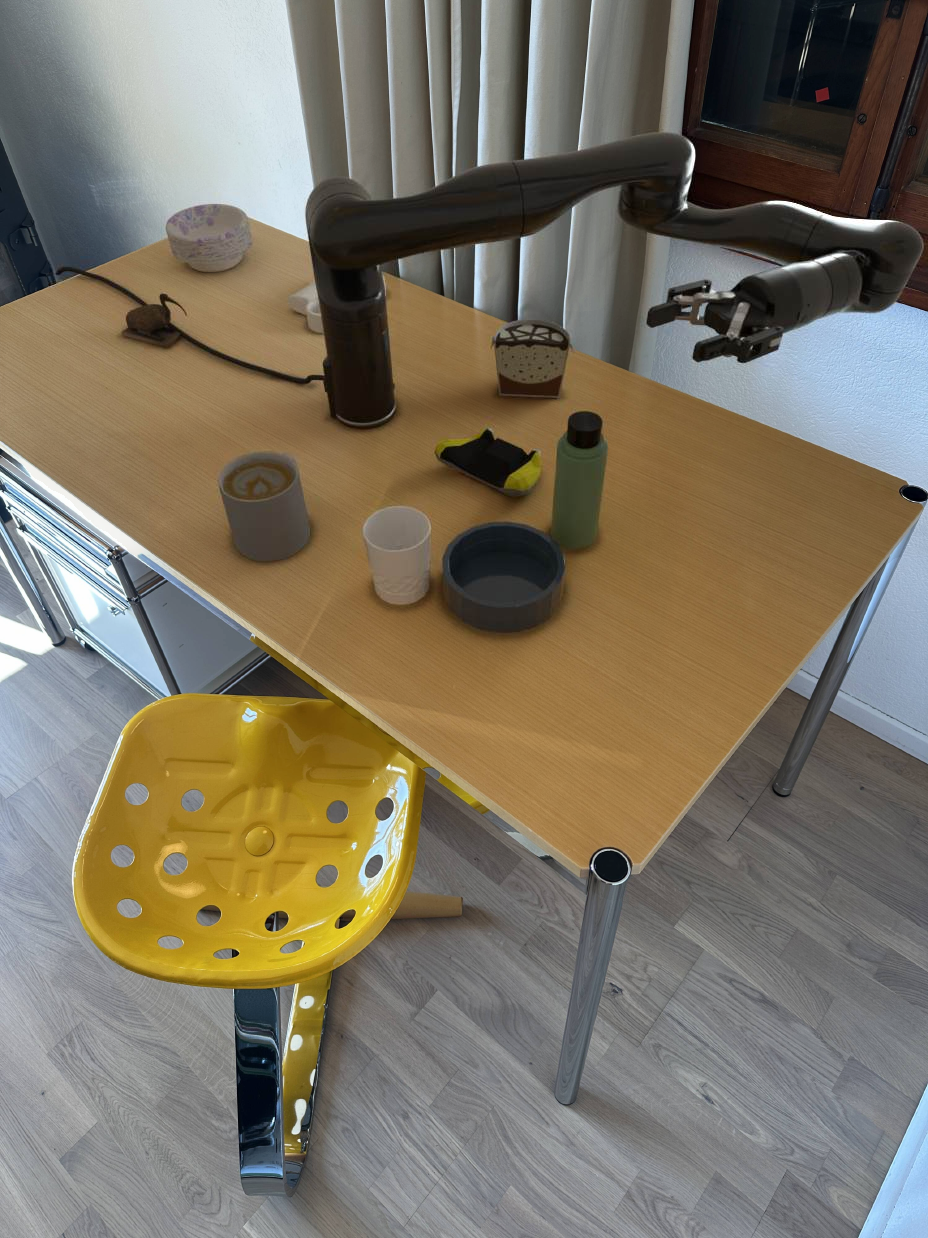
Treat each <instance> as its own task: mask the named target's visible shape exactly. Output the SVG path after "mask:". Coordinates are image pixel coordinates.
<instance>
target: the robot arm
mask: <svg viewBox="0 0 928 1238" xmlns="http://www.w3.org/2000/svg"><path fill="white" fill-rule="evenodd" d="M695 161H696V149H695V146H694V144H693V142H692V141H691V140H690V139H689V138H687V137H686V136H684V135H682V134H680V133H679V134H678V133H675V132H668V131H656V132H655V131H654V132H646V133H642V134H636V135H632V136H627V137H624V138H621V139H618V140H614V141H610V142H606V143H603V144H598V145H595V146H590V147H588V148H587V147H586V148H583V149H579V150H574V151H568V152H564V153H558V154H552V155H547V156H539V157H534V158H525V159H516V160H515V159H514V160H509V161H502V162H495V163H488V164H483V165H479V166H474V167H471V168H469V169H466V170H463V171H462V172H460V173H457V174H455V175H454V176H452V177H450V178H449V179H447V180H445V181H443V182H441V183H440V184H437V185H435V186H434V187H431V188H430V189H428V190H425V191H423V192H420V193H416V194H413V195H408V196H402V197H401V196H400V197H394V198H385V199H373V198H372V196H371V194H370V193H369V192H368V190H367V189H366V188H365V187H364V186H363V185H362V184H361V183H359V182H358V181H357V180H354V179H353V178H351V177H346V176H331V177H328V178H325V179H323V180H321V181H320V182H319V183H318V184H317V185H315V187H314V188H313V189H312V191H311V192H310V194H309V195H308V198H307V201H306V204H305V214H304V218H305V226H306V232H307V238H308V246H309V252H310V257H311V265H312V271H313V277H314V282H315V284H316V289H317V295H318V300H319V306H320V312H321V319H322V325H323V332H324V333H323V339H324V344H325V351H326V356H325V357H324V359H323V361H322V370H323V374H310V375H307V377H305V378H304V377H297V376H292V375H288V374H286V373H283V372H279V371H275V370H273V369H270V368H266V367H263V366H260V365H256V364H253V363H249V362H246V361H243V360H240V359H238V358H235V357H233V356H230V355H227V354H225V353H223V352H220V351H218V350H216V349H214V348H212V347H210V346H208V345H206V344H204V343H202V342H200V341H199V340H196V339H195V338H194V337H192V336H191V335H189V334H187V333H186V332H185V331H183V330H182V329H180V328H178V326H176V325H174V324H173V323H172V322H171V321H170V322H169V323H168V325H166V327H169V328H175V329H177V330H176V331H177V332H179V333H180V335H181V336H182V338H183V339H185V340H186V341H188V342H189V343H190V344H192V345H194V346H196V347H197V348H199V349H201V350H203V351H204V352H207V353H209V354H210V355H213V356H214V357H217V358H218V359H222V360H224V361H226V362H229V363H232V364H234V365H237V366H240V367H242V368H246V369H249V370H252V371H254V372H255V371H256V372H258V373H262V374H265V375H268V376H271V377H274V378H278V379H282V380H285V381H288V382H292V383H295V384H302V385H308V384H310V383H311V381H322V383H323V388H324V392H325V393H326V396H327V402H328V408H329V414H330V418H331V419H336V420H337V421H338V422H339V423H341V424H342V425H344V426H345V427H349V428H354V429H371V428H376V427H379V426H382V425H384V424H386V423H387V422H389V421H390V420H392V419H393V417H394V416H395V414H396V411H397V403H396V397H395V389H396V385H395V383H394V376H393V375H394V374H393V365H392V355H391V344H390V343H391V342H390V341H391V340H390V332H389V329H390V328H389V320H388V309H387V294H386V295H385V286H386V285H385V286H384V281H383V276H384V275H383V270H382V265H384V264H387V263H390V262H394V261H399V260H402V259H405V258H410V257H413V256H417V255H422V254H425V253H430V252H437V251H444V250H452V249H457V248H463V247H469V246H473V245H481V244H489V243H498V242H503V241H510V240H515V239H521V238H526V237H530V236H532V235H535V234H537V233H539V232H541V231H543V230H544V229H545V228H547V227H548V226H550V225H551V224H553V223H554V222H556V221H557V220H558V219H560V218H561V217H562V216H564V215H565V214H566V213H567V212H568V211H570V210H572V208H574V207H575V206H576V205H578V204H579V203H581V202H582V201H583V200H585V199H587V198H588V197H590V196H592V195H594V194H597V193H598V192H601V191H604V190H607V189H611V188H615V187H618V193H617V201H616V209H617V210H616V211H617V213H618V216H619V218H620V219H621V220H622V221H623V222H624V223H625V224H626V225H628V226H629V227H631V228H633V229H636V230H638V231H641V232H644V233H648V234H651V235H656V236H659V237H660V236H661V237H666V238H670V239H676V240H679V241H681V240H682V241H686V242H690V243H696V244H701V245H707V246H714V247H717V248H724V249H730V250H735V251H739V252H743V253H747V254H751V255H754V256H757V257H759V258H763V259H766V260H769V261H772V262H774V263H777V264H779V266H777V267H774V268H771V269H767V270H764V271H761V272H758V273H754V274H751V275H748V276H745V277H743V278H742V279H741V280H739V281H738V283H736V284H735V286H734V287H733V288H731V289H730V290H723V291H715V290H714V289H713V288H712V284H713V281H712V280H711V279H708V278H706V279H701V280H697V281H692V282H689V283H685V284H682V285H677V286H673V287H670V288H668V290H667V296H666V300H665V301H666V302H664V303H660V304H657V305H654V306H651V307H650V308H649V309H648V311H647V316H646V320H645V321H646V322H645V323H646V325H647V326H648V327H649V328H651V329H653V328H657V327H660V326H662V325H666V324H669V323H672V322H675V321H688V322H689V323H690V324H691V325H693V326H704V327H707V328H710V329H711V330H714V331H715V332H716V334H718V335H715V336H711V337H707V338H706V339H702V340H699V341H697V342H696V343H695V345H694V347H693V352H692V355H691V356H692V357H691V358H692V360H693V361H695V363H701V362H708V361H711V360H714V359H717V358H719V357H724V358H731V357H735V358H736V361H737V363H740V364H746V363H749V362H752V361H754V360H757V359H759V358H762V357H764V356H767V355H769V354H771V353H774V352H776V351H779V348H780V346H781V343H782V339H783V334H786V333H789V332H793V331H796V330H798V329H801V328H804V327H806V326H808V325H810V324H811V323H813V322H815V321H817V320H821V319H823V318H827V317H829V316H832V315H833V316H834V315H836V314H878V313H881V312H884V311H886V310H887V309H889V308H891V307H892V306H893V305H894V304H896V302H897V301H898V299H899V298H900V296H901V295H902V293H903V291H904V289H905V287H906V285H907V283H908V281H909V279H910V277H911V276H912V274H913V271H914V270H915V268H916V266H917V264H918V262H919V260H920V258H921V256H922V253H923V251H924V240H923V237H922V236H921V235H920V233H919V231H917V229H915V228H914V227H913V226H911V225H909V224H907V223H905V222H901V221H896V220H884V219H883V220H880V219H879V220H878V219H875V220H874V219H859V218H858V219H857V218H848V217H847V218H846V217H838V216H832V215H829V214H827V213H823V212H821V211H817V210H815V209H813V208H809V207H806V206H804V205H801V204H799V203H798V204H797V203H794V202H790V201H784V200H769V201H768V200H767V201H761V202H757V203H751V204H747V205H743V206H738V207H737V206H736V207H732V208H723V209H711V208H705V207H702V206H700V205H696V204H694V203H692V202H689V201H688V200H687V199H688V195H689V190H690V187H691V182H692V178H693V177H692V176H693V171H694V167H695ZM847 252H856V255H854V256H852V255H851V254H849V253H847ZM65 272H71V273H74V274H78V275H82V276H84V277H87V278H91V279H94V280H97V281H100V282H102V283H105V284H107V285H108V286H110V287H112V288H114V289H116V290H118V291H119V292H121V293H123V294H125V295H126V296H128V297H129V298H130V299H132V300H133V301H135V302H136V303H138V304H139V305H140V306H144V305H149V304H148V303H147V302H146V301H145V300H143V299H142V298H140V297H139V296H138V295H136V294H135V293H134V292H131V291H130V290H128V289H127V288H125V287H123V286H121V285H119V284H118V283H116V282H114V281H112V280H111V279H109V278H106V277H104V276H102V275H98V274H95V273H92V272H89V271H86V270H83V269H81V268H80V269H79V268H76V267H72V266H62V267H59V268H58V269H57V270H56V272H55V276H61V275H62V274H63V273H65ZM382 275H383V276H382ZM706 303H707V304H706ZM703 304H706V305H705V308H704V312H703V316H701V315H699V313H700V307H702V306H703ZM688 308H691V310H690V311H683V310H685V309H688Z"/></svg>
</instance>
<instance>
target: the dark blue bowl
mask: <svg viewBox="0 0 928 1238" xmlns="http://www.w3.org/2000/svg"><path fill="white" fill-rule="evenodd" d="M559 546H560V545H559V544H558V543H556V542H555V541H554V540H553V538H552V536H549V535H548V534H547V533H545V532H544V531H543V530H541V529H538V528H536V527H534V526H531V525H529V524H524V523H520V522H519V523H518V522H513V521H507V520H506V521H490V522H485V523H482V524H479V525H474V526H471V527H469V528H468V529H466V530H464V531H462V532H461V533H459V534H457V536H455V537H454V538H453V539H452V540H451V542H449V544H448V545H447V546H446V549H445V551H444V553H443V555H442V558H441V566H442V568H441V569H442V583H443V584H442V585H443V588H442V589H443V598H444V600H445V602H446V604H447V606H448V608H449V611H451V612H452V613H453V614H454V615H455V616H456V617H457V618H458V619H459V620H460V621H461V622H463V623H465V624H467V625H469V626H471V627H473V628H475V629H477V630H481V631H486V632H489V633H490V632H491V633H499V634H501V633H502V634H507V633H509V634H510V633H517V632H522V631H526V630H530V629H532V628H535V627H537V626H538V625H540V624H542V623H544V622H545V621H547V620H549V618H551V616H552V615H553V614H554V613H555V612H556V610H557V609H558V607H559V606H560V604H561V600H562V597H563V594H564V584H565V575H566V561H565V557H564V552H563V551H562V549H561V548H560V547H559Z"/></svg>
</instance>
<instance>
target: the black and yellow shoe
mask: <svg viewBox="0 0 928 1238" xmlns="http://www.w3.org/2000/svg"><path fill="white" fill-rule="evenodd" d="M434 448H435V449H434V455H435V457H436V459H437V461H438V462H440V463H441V464H443V465H444V466H446V467H447V468H450V469H453V470H456V471H458V472H460V473H462V474H463V475H465V476H468V477H470V478H472V479H475V480H476V481H479V482H481V483H483V484H485V485H486V486H489V487H491V488H492V489H494V490H497V491H498V492H501V493H503V494H504V495H506V496H508V497H518V498H519V497H523V496H525V495H526V496H527V495H529V494H530V493H531V492H532V491H533V490H534V489H535V488H536V487H537V486H538V483H539V481H540V479H541V470H542V461H541V457H542V451H541V449H534V450H533V449H532V450H531V451H530V452H529V453H527V452H526V451H525V449H523V448H522V447H519V446H518V445H515V444H512V443H511V442H508V441H506V440H504V439H502V438H499V437H496V438H495V436H494V429H493V428H492V427H487V428H483V429H481V430H480V431H479V432H477V433H476V434H475V435H474V436H472V437H470V438H469V437H468V438H449V439H446V438H445V439H443V440H442V441H440V442H438V443H437V444H436V446H435V447H434Z"/></svg>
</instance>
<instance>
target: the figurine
mask: <svg viewBox="0 0 928 1238" xmlns="http://www.w3.org/2000/svg"><path fill="white" fill-rule="evenodd" d="M159 301H160V304H159V303H150V304H148V305H144V306H142V305H140V306H139V307H135V308H133V309H130V310H129V311H128V312H127V313H126V315H125V322H126V326H127V327H126V328H125V329H123V330H122V331H121V335H122V336H123V337H125V338H130V339H133V340H137V341H141V342H143V343H147V344H151V345H155V346H159V347H162V348H165V349H169V348H170V347H171V346H172V345H174V344H175V343H176V342H177V341H179V340H181V339H182V338H183V337H182V336H181V335H180V333H179V332H177V331H176V330H177V329H175V328H169V327H168V326H167V325H168V323H169V322H171V319H172V318H171V317H172V316H171V315H172V314H171V313H172V312H171V309H170V308H169V307H168V305H167V303H171V304H174V305H176V306H177V307H179V308H180V309H181V310H182V311H183V313H184V315H185V316H186V317H187V316H188V314H187V311H186V310H185V309H184V307H183V306H182V305H181V303H179V302H178V301H176V300H174V299H173V298H171V297H169V296H168V294H166V293H160V294H159ZM166 302H167V303H166Z"/></svg>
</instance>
